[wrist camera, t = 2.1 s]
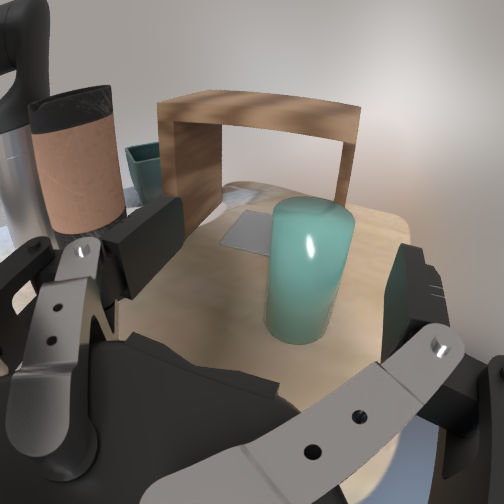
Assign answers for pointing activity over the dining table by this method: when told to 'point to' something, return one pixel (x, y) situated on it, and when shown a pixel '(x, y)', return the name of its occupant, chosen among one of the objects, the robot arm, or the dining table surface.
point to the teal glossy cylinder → (305, 267)
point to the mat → (250, 233)
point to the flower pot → (145, 170)
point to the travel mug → (78, 162)
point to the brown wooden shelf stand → (247, 115)
